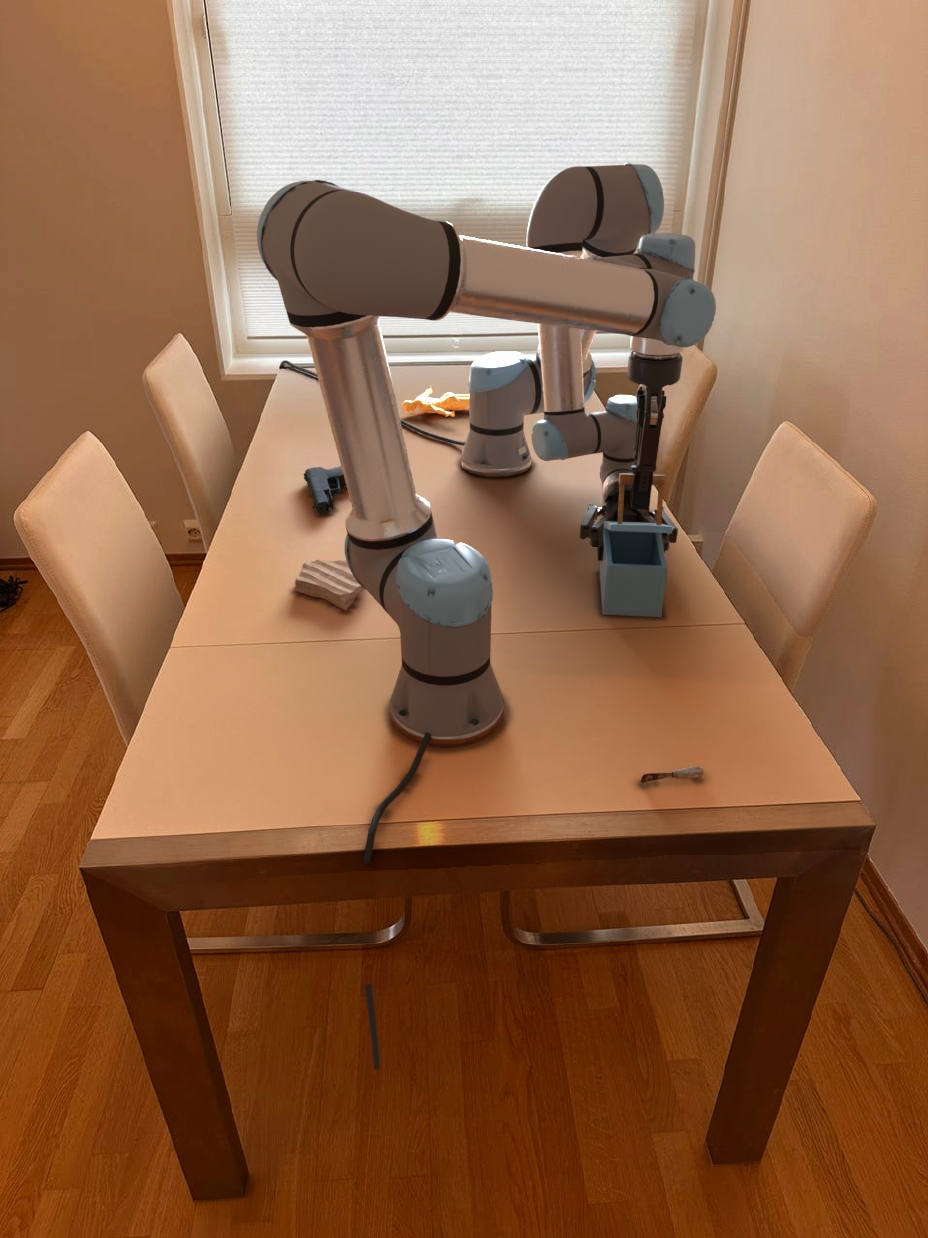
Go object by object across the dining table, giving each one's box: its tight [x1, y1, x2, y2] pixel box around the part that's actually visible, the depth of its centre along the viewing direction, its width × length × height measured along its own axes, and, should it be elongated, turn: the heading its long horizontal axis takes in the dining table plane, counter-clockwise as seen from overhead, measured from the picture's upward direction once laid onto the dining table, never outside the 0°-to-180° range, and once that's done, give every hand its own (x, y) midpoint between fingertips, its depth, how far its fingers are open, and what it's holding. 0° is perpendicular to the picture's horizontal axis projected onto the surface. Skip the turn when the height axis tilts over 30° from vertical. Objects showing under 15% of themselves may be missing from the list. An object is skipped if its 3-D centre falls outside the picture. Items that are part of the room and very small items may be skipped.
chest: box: [599, 527, 668, 618], centre depth 145 cm, size 14×9×9 cm
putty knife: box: [640, 765, 705, 784], centre depth 109 cm, size 1×8×2 cm, turn 103°
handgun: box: [303, 465, 347, 515], centre depth 181 cm, size 3×18×12 cm
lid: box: [604, 474, 672, 533], centre depth 141 cm, size 14×9×9 cm, turn 175°
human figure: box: [402, 385, 469, 418], centre depth 225 cm, size 20×20×4 cm
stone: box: [294, 559, 364, 611], centre depth 149 cm, size 13×12×3 cm
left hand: (639, 505), depth 139 cm, fingers closed on lid, 2 cm apart
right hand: (631, 554), depth 147 cm, fingers closed on chest, 9 cm apart
